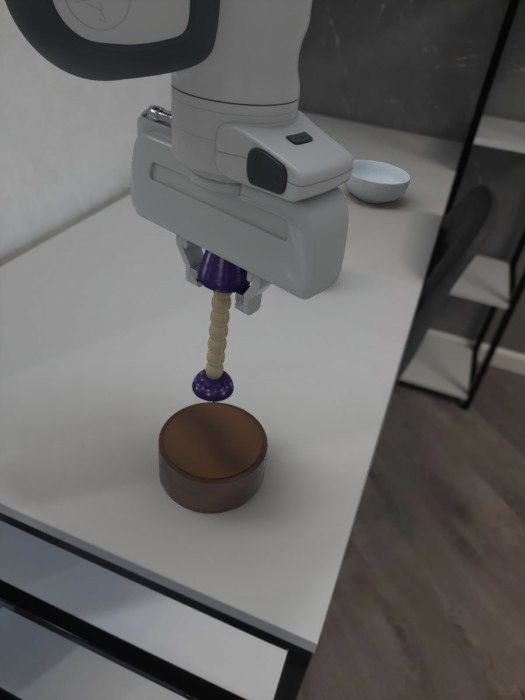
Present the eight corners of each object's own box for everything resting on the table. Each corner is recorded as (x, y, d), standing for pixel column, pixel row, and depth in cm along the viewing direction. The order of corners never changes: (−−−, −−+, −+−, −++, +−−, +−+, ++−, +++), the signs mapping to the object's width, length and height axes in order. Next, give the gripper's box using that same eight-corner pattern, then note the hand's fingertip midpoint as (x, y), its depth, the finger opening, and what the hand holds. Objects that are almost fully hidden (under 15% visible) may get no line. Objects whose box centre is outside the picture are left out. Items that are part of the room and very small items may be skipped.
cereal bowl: (373, 215, 125) (380, 187, 121) (325, 191, 135) (330, 164, 130) (416, 204, 134) (424, 177, 130) (369, 181, 144) (375, 156, 140)
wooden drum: (213, 534, 54) (215, 504, 51) (137, 469, 59) (134, 438, 56) (283, 468, 61) (289, 438, 58) (210, 416, 67) (212, 386, 64)
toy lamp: (219, 367, 55) (229, 220, 45) (249, 390, 53) (266, 241, 43) (183, 385, 53) (185, 233, 42) (213, 411, 50) (222, 256, 40)
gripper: (106, 103, 40) (118, 262, 49) (322, 185, 31) (290, 364, 39) (167, 95, 44) (168, 243, 53) (375, 165, 35) (336, 331, 43)
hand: (222, 295), depth 46 cm, fingers closed on toy lamp, 4 cm apart
